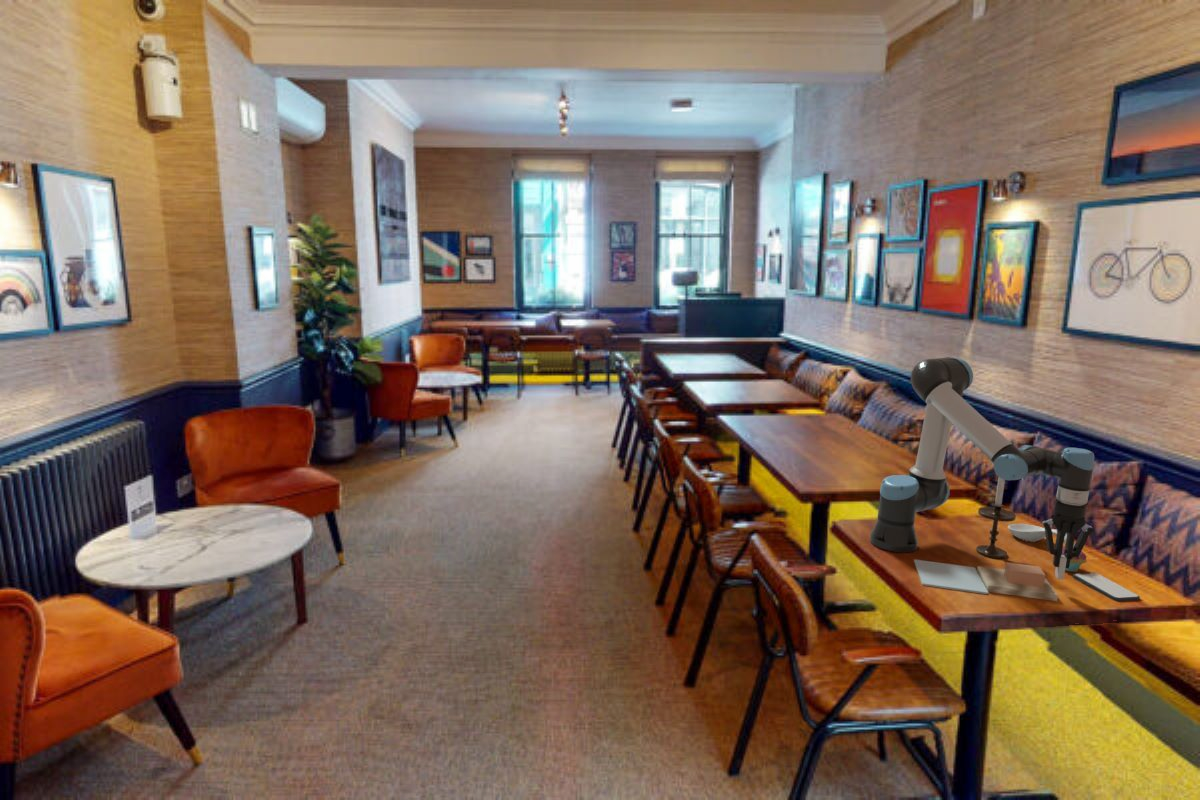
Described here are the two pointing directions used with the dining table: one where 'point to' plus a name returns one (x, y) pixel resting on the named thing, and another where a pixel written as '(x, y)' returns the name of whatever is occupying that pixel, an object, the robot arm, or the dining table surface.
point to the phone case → (1106, 587)
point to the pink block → (1024, 574)
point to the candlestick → (995, 523)
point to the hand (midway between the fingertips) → (1059, 577)
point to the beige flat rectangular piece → (1013, 585)
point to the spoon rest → (1030, 532)
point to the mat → (950, 576)
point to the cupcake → (1075, 561)
